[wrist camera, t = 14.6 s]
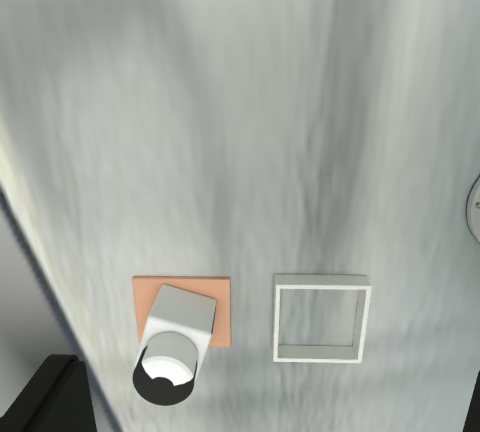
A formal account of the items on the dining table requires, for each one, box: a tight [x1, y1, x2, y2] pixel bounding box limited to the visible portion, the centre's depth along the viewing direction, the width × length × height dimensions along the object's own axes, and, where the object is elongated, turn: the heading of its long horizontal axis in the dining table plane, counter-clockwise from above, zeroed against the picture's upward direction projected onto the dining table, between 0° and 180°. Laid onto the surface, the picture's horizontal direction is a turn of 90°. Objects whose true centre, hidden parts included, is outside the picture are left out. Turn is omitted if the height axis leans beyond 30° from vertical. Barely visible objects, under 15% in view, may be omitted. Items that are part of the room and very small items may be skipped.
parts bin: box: [272, 274, 372, 363], centre depth 46 cm, size 11×11×2 cm
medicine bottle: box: [133, 284, 217, 406], centre depth 41 cm, size 7×7×12 cm
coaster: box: [132, 276, 231, 347], centre depth 47 cm, size 12×10×1 cm
